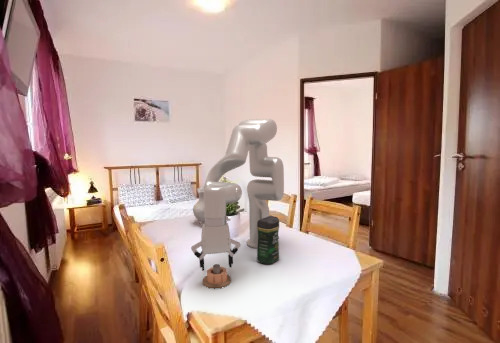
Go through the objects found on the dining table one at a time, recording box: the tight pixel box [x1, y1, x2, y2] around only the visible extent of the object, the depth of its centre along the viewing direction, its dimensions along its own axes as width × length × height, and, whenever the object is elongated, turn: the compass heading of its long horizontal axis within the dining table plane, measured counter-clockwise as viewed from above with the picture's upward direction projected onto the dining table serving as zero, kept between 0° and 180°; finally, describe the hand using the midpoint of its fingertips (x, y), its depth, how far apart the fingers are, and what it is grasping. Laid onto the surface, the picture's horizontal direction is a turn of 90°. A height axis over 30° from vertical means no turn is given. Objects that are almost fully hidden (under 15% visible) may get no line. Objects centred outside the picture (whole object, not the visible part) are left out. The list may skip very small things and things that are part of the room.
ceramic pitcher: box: [192, 183, 205, 226], centre depth 170 cm, size 22×20×25 cm
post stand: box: [202, 263, 232, 290], centre depth 101 cm, size 10×10×6 cm
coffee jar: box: [256, 215, 280, 265], centre depth 118 cm, size 10×8×19 cm
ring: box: [206, 266, 228, 284], centre depth 102 cm, size 7×7×3 cm
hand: (216, 267), depth 101 cm, fingers open, 9 cm apart
